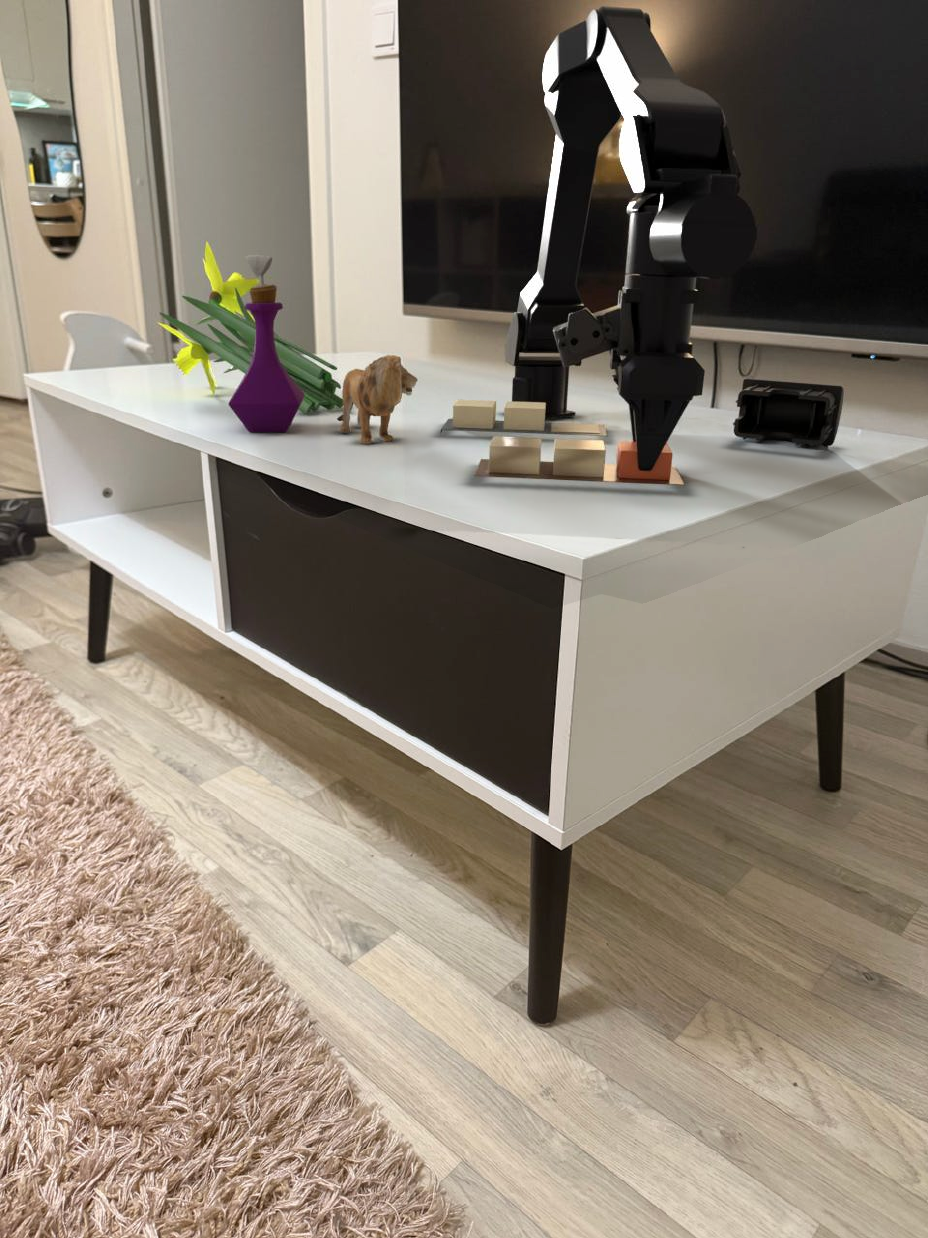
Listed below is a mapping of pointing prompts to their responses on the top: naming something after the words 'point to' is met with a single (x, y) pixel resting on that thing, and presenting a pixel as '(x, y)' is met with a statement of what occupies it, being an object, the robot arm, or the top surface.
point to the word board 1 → (513, 419)
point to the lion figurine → (375, 394)
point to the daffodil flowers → (247, 341)
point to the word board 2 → (556, 462)
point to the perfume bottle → (265, 366)
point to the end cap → (789, 411)
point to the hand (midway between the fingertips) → (642, 464)
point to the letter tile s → (629, 463)
